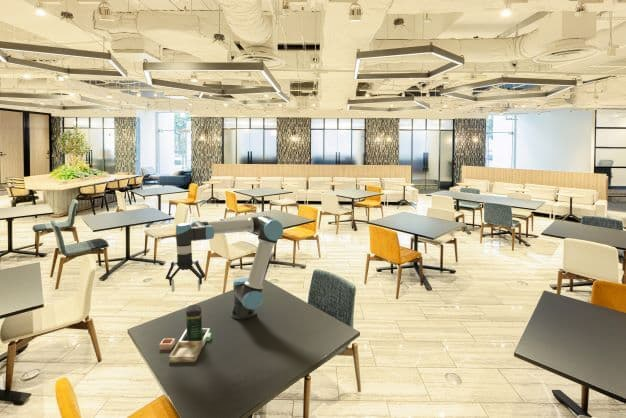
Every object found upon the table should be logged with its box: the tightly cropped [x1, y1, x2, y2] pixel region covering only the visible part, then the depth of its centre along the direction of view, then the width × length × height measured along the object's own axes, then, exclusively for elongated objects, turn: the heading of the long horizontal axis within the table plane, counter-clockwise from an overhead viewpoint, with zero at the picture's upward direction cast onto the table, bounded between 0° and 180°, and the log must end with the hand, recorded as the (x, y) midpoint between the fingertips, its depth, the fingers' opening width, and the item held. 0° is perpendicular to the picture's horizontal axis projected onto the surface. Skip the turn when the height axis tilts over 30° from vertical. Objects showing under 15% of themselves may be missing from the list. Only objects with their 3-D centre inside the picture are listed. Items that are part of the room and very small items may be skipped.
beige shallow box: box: [168, 340, 204, 363], centre depth 186 cm, size 13×14×3 cm
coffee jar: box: [185, 304, 203, 341], centre depth 200 cm, size 10×8×19 cm
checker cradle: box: [177, 327, 212, 347], centre depth 201 cm, size 15×15×2 cm
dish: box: [159, 337, 176, 351], centre depth 193 cm, size 6×6×3 cm
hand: (186, 290), depth 200 cm, fingers open, 13 cm apart
